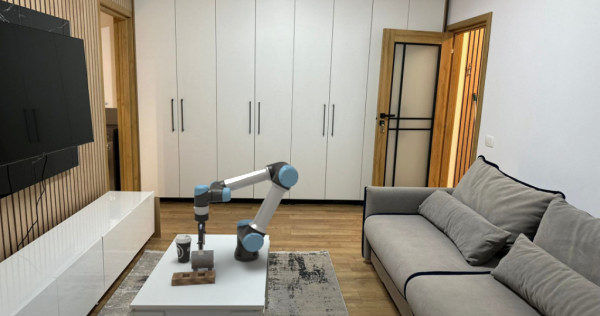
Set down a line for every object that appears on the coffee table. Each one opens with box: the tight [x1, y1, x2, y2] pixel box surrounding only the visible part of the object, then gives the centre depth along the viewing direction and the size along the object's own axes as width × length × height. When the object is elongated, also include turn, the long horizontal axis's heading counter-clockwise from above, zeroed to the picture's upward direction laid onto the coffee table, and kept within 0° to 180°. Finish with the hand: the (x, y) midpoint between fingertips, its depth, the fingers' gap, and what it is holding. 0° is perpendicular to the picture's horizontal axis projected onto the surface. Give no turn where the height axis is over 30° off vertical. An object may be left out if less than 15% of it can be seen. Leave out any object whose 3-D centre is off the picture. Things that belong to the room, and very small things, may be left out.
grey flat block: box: [190, 249, 215, 272], centre depth 224 cm, size 12×4×12 cm, turn 100°
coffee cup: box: [174, 233, 193, 264], centre depth 237 cm, size 10×10×15 cm
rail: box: [170, 269, 216, 287], centre depth 214 cm, size 22×8×4 cm, turn 100°
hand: (201, 249), depth 222 cm, fingers open, 13 cm apart
